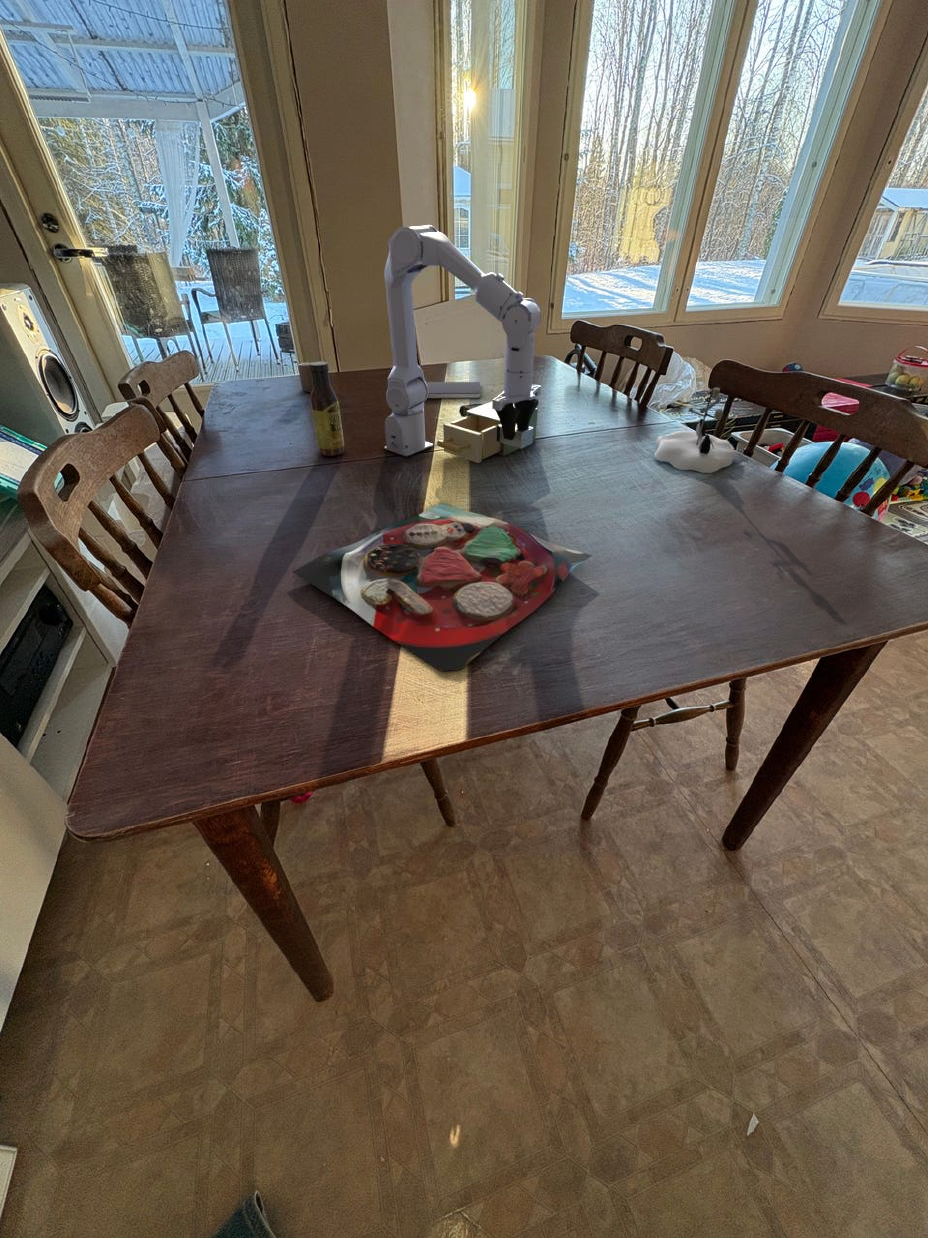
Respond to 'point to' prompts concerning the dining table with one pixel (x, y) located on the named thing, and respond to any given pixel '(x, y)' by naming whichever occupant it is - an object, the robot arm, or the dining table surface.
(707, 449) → the figurine
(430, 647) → the platter
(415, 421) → the robot arm
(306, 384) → the wooden block
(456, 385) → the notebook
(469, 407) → the tape measure
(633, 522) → the dining table surface
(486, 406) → the cabinet
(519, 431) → the grey framed box
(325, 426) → the sauce bottle
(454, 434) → the drawer
